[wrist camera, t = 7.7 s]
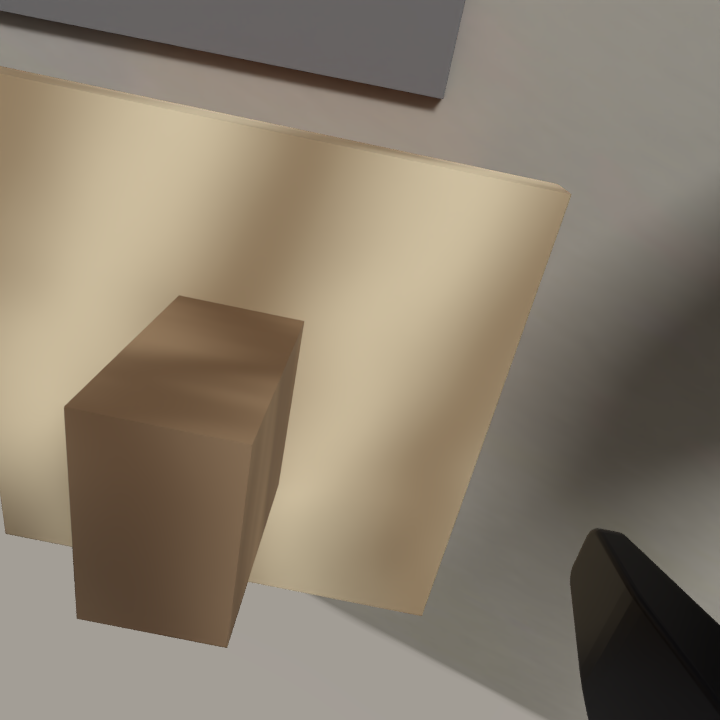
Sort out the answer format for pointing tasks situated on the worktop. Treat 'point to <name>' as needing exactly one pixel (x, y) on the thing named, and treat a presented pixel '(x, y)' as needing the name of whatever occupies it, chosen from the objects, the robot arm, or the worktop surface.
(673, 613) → the robot arm
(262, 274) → the lid
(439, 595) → the worktop surface
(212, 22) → the mat
